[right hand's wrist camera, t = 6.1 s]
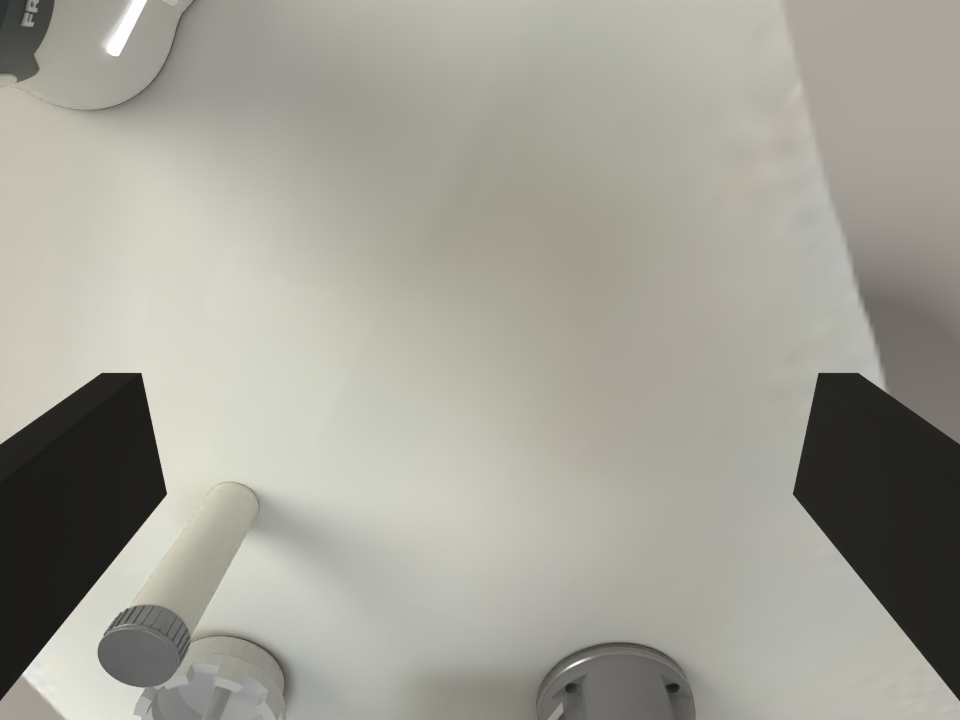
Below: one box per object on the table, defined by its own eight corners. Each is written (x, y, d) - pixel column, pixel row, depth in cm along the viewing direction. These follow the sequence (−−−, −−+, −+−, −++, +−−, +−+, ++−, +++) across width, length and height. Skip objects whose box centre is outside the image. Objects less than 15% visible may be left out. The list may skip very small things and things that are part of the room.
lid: (136, 590, 40) (119, 614, 39) (206, 629, 42) (192, 654, 40) (100, 637, 42) (81, 663, 40) (168, 674, 43) (153, 700, 41)
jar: (224, 472, 54) (125, 614, 39) (268, 500, 55) (189, 649, 40) (198, 507, 56) (92, 657, 40) (242, 533, 57) (155, 689, 41)
